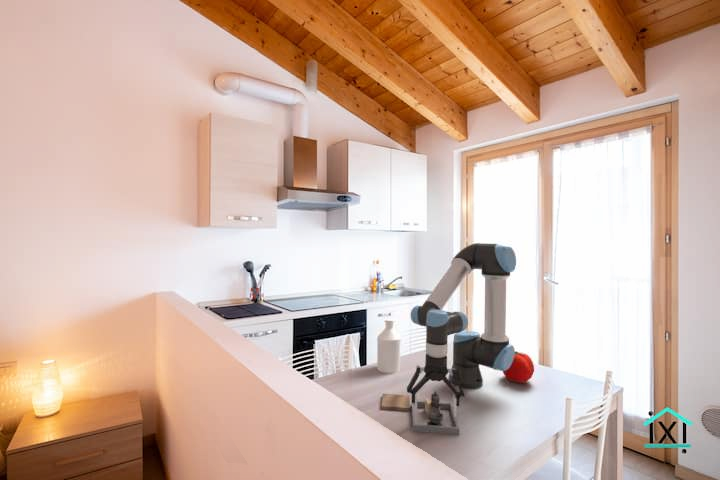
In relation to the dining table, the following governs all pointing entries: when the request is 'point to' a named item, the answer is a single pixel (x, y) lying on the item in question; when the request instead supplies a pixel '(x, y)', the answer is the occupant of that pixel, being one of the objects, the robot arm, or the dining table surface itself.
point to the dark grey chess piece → (435, 411)
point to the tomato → (520, 368)
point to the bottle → (388, 349)
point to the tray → (431, 427)
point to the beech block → (428, 404)
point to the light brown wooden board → (396, 402)
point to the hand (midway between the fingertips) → (434, 413)
